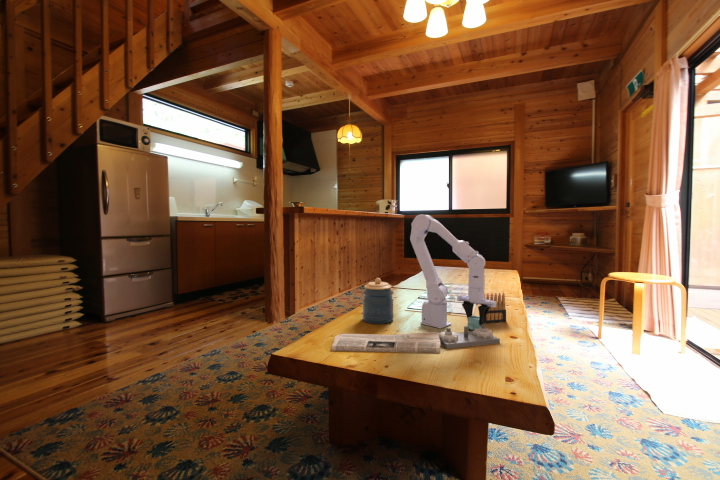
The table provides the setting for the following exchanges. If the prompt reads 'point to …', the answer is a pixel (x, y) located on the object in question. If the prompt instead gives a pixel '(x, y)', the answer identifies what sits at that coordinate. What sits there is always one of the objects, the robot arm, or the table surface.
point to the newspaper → (388, 342)
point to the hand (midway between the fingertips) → (475, 322)
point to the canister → (378, 302)
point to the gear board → (467, 338)
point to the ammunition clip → (496, 310)
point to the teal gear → (473, 322)
